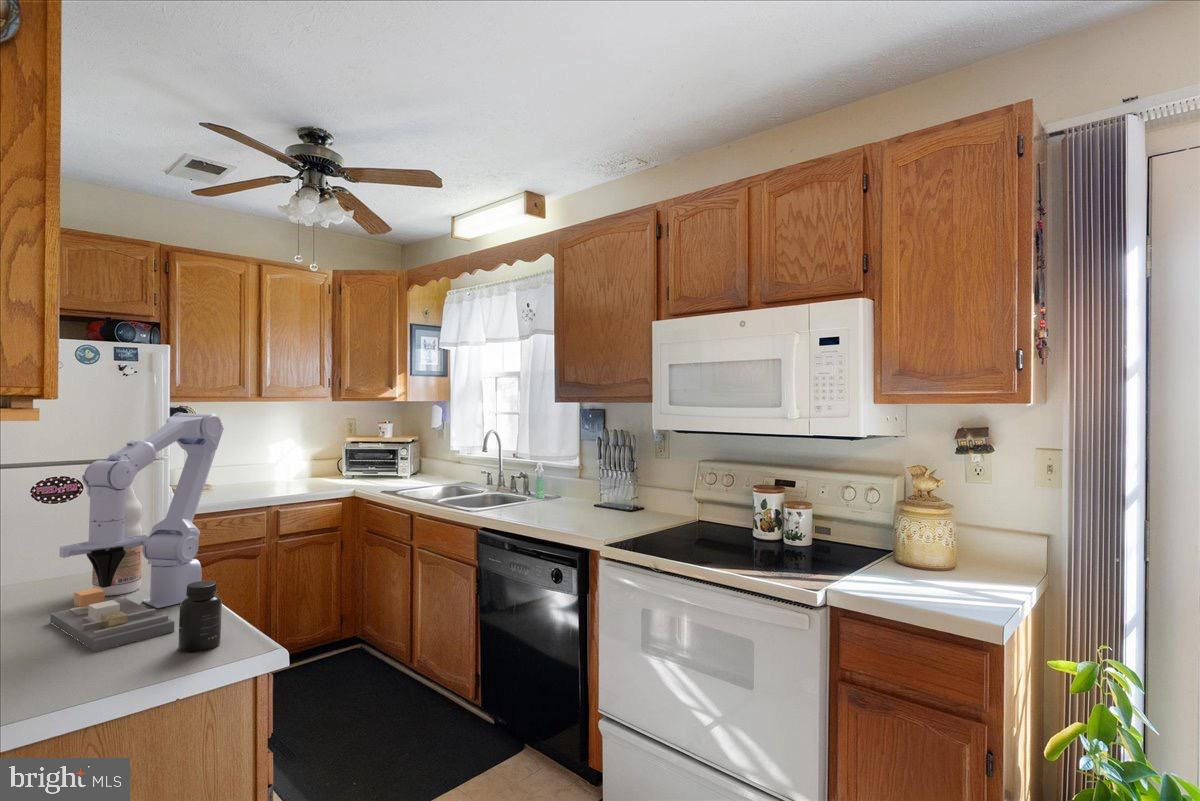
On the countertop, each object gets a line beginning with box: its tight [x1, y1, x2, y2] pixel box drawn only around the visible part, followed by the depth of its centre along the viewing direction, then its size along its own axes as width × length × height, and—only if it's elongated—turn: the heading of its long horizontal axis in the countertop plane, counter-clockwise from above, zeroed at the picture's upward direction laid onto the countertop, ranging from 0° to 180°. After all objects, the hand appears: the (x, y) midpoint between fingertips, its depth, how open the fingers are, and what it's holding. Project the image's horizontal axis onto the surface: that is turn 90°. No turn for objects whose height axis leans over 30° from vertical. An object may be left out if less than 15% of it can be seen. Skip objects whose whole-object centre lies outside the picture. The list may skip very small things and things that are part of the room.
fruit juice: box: [91, 482, 144, 597], centre depth 151 cm, size 9×9×28 cm
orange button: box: [73, 587, 106, 608], centre depth 131 cm, size 4×4×2 cm
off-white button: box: [88, 599, 120, 621], centre depth 127 cm, size 4×4×2 cm
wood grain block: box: [101, 611, 128, 629], centre depth 122 cm, size 3×4×2 cm
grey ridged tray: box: [49, 597, 175, 652], centre depth 127 cm, size 13×24×3 cm, turn 56°
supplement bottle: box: [178, 580, 223, 654], centre depth 119 cm, size 7×7×12 cm
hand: (105, 586), depth 127 cm, fingers closed
